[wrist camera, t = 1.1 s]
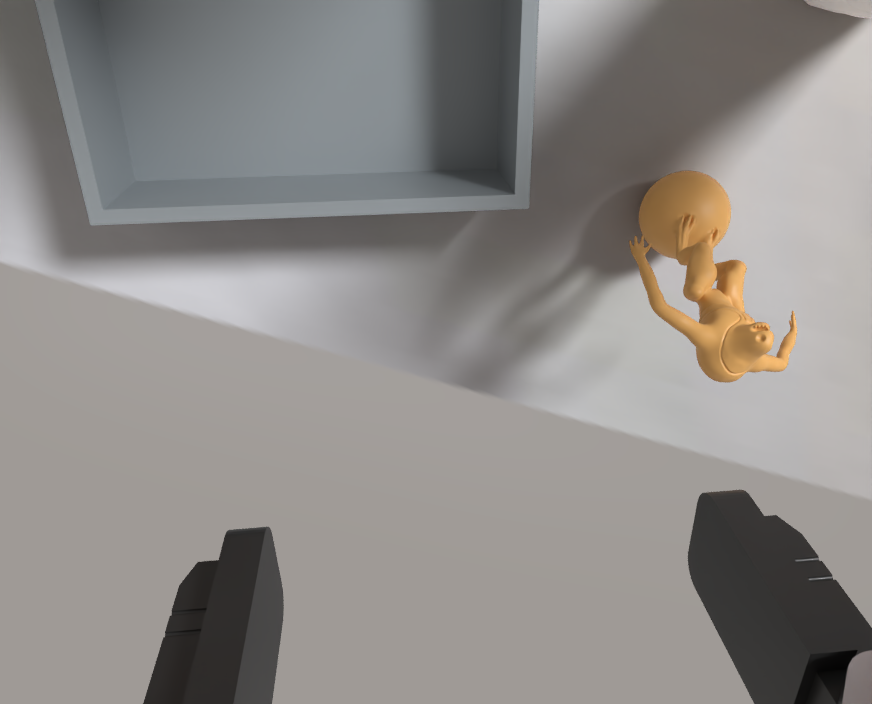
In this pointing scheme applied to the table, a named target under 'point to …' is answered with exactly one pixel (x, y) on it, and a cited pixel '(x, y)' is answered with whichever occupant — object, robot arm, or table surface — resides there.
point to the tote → (294, 106)
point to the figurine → (705, 277)
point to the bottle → (845, 6)
